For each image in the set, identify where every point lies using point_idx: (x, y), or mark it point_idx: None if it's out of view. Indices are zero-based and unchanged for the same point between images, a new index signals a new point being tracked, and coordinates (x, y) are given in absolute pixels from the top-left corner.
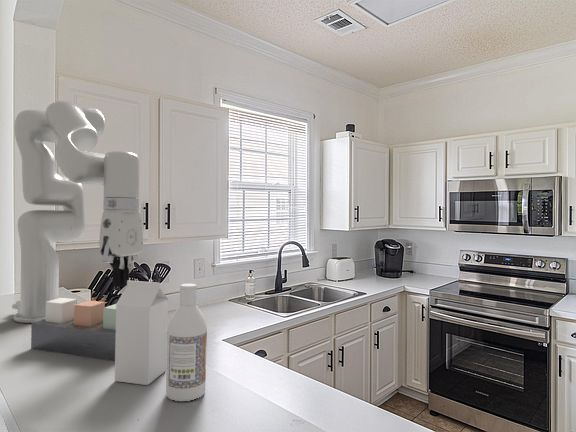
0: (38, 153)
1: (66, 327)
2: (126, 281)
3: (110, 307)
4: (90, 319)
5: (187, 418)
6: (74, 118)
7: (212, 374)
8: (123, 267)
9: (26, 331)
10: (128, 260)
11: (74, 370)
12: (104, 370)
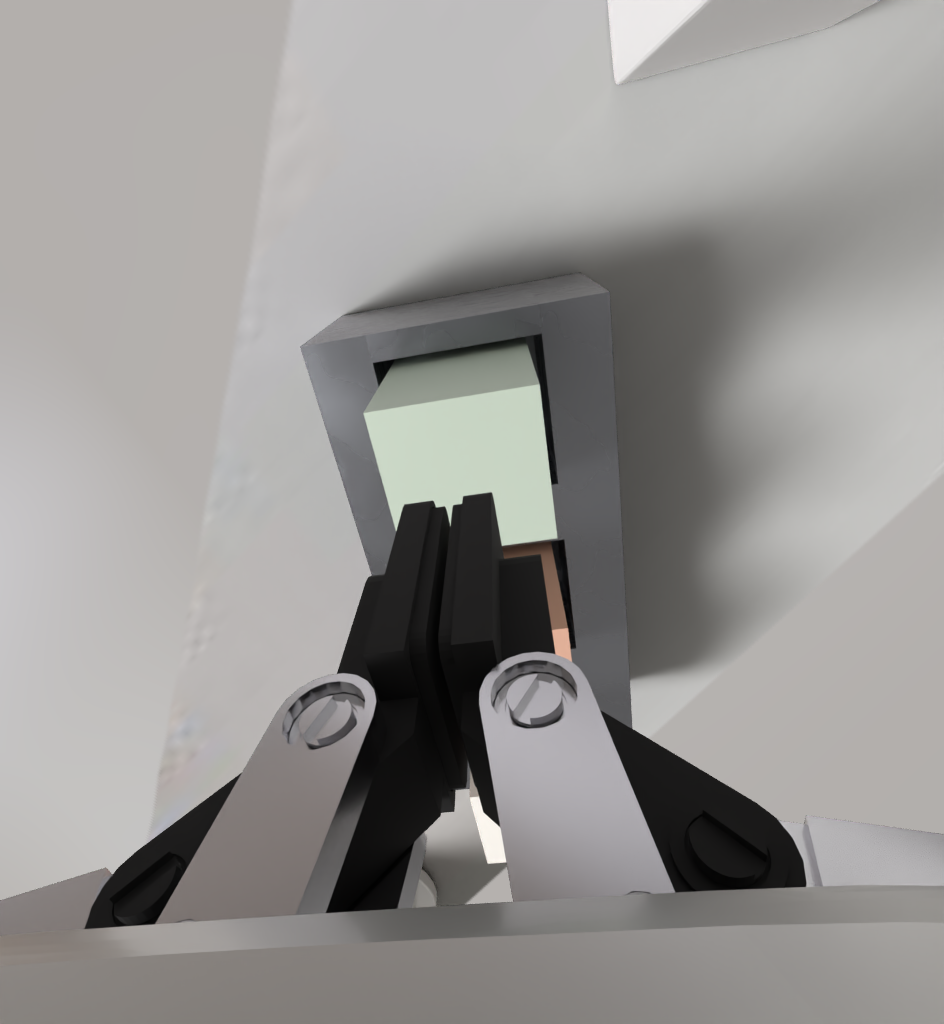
0: None
1: (624, 626)
2: (442, 527)
3: (523, 507)
4: (556, 575)
5: None
6: None
7: None
8: (498, 685)
9: None
10: (321, 815)
11: (743, 364)
12: (702, 229)
